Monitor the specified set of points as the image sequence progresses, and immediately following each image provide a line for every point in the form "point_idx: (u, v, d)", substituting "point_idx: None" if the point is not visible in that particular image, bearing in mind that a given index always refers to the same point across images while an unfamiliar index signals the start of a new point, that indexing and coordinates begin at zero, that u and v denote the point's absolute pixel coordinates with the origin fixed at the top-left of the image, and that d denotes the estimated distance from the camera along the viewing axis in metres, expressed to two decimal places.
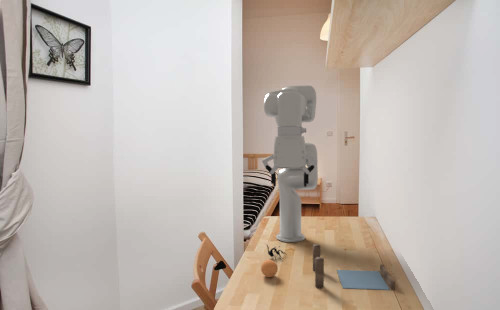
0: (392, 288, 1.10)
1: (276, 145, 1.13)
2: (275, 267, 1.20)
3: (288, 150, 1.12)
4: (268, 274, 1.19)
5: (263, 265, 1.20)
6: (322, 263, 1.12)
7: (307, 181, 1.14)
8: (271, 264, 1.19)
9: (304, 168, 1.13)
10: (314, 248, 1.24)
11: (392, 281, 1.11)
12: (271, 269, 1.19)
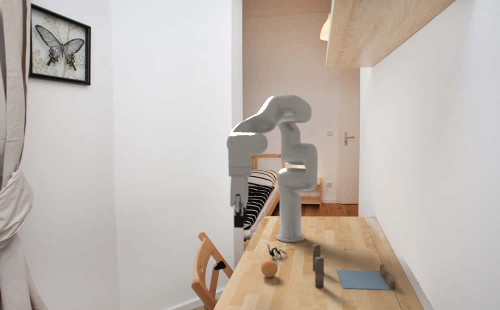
0: (392, 288, 1.10)
1: (244, 185, 1.16)
2: (275, 267, 1.20)
3: (247, 188, 1.19)
4: (268, 274, 1.19)
5: (263, 265, 1.20)
6: (322, 263, 1.12)
7: None
8: (271, 264, 1.19)
9: (245, 204, 1.24)
10: (314, 248, 1.24)
11: (392, 281, 1.11)
12: (271, 269, 1.19)
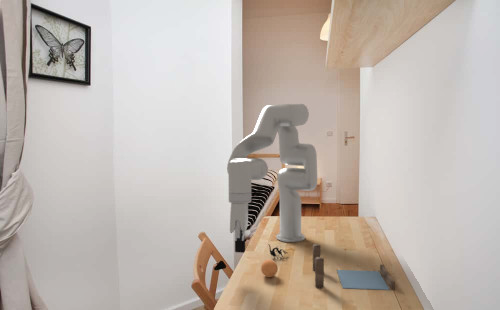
0: (392, 288, 1.10)
1: (244, 212, 1.16)
2: (275, 267, 1.20)
3: (247, 214, 1.20)
4: (268, 274, 1.19)
5: (263, 265, 1.20)
6: (322, 263, 1.12)
7: None
8: (271, 264, 1.19)
9: (244, 232, 1.22)
10: (314, 248, 1.24)
11: (392, 281, 1.11)
12: (271, 269, 1.19)
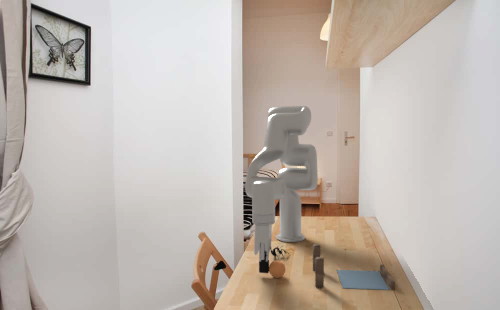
0: (392, 288, 1.10)
1: (268, 233, 1.16)
2: (283, 272, 1.19)
3: None
4: (274, 274, 1.18)
5: (275, 264, 1.19)
6: (322, 263, 1.12)
7: None
8: (282, 268, 1.19)
9: None
10: (314, 248, 1.24)
11: (392, 281, 1.11)
12: (279, 272, 1.18)
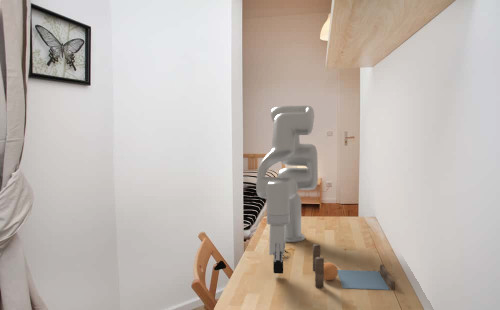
0: (392, 288, 1.10)
1: (284, 234, 1.16)
2: (336, 273, 1.17)
3: None
4: (328, 277, 1.16)
5: (326, 266, 1.17)
6: (322, 263, 1.12)
7: None
8: (334, 269, 1.16)
9: None
10: (314, 248, 1.24)
11: (392, 281, 1.11)
12: (333, 274, 1.16)
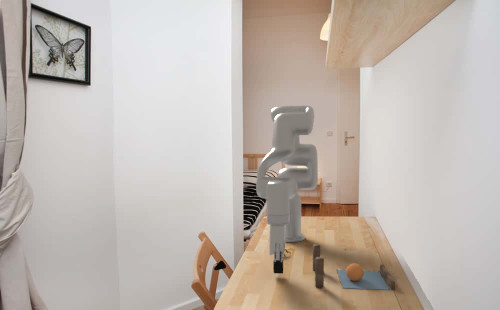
0: (392, 288, 1.10)
1: (284, 234, 1.16)
2: (347, 274, 1.16)
3: None
4: (357, 271, 1.15)
5: (359, 279, 1.16)
6: (322, 263, 1.12)
7: None
8: (350, 278, 1.16)
9: None
10: (314, 248, 1.24)
11: (392, 281, 1.11)
12: (352, 275, 1.15)
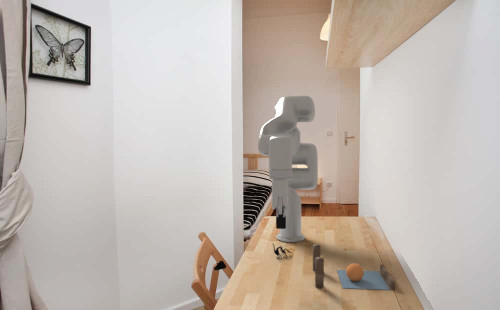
0: (392, 288, 1.10)
1: (286, 188, 1.16)
2: (347, 274, 1.16)
3: None
4: (357, 271, 1.15)
5: (359, 279, 1.16)
6: (322, 263, 1.12)
7: None
8: (350, 278, 1.16)
9: None
10: (314, 248, 1.24)
11: (392, 281, 1.11)
12: (352, 275, 1.15)
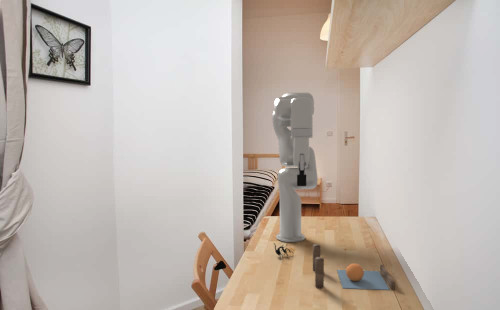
0: (392, 288, 1.10)
1: (308, 145, 1.22)
2: (347, 274, 1.16)
3: None
4: (357, 271, 1.15)
5: (359, 279, 1.16)
6: (322, 263, 1.12)
7: None
8: (350, 278, 1.16)
9: None
10: (314, 248, 1.24)
11: (392, 281, 1.11)
12: (352, 275, 1.15)
